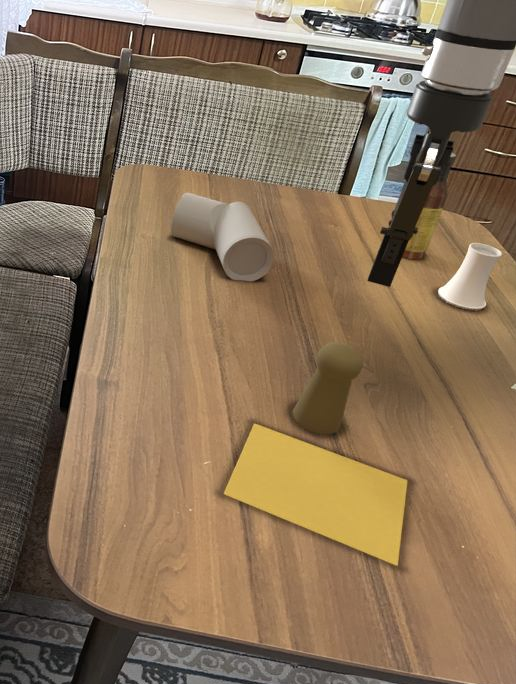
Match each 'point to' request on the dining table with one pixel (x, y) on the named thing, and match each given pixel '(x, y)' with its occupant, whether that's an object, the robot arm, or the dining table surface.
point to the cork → (328, 389)
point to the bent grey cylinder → (225, 234)
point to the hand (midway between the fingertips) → (379, 281)
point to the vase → (471, 278)
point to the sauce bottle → (429, 216)
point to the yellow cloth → (321, 492)
